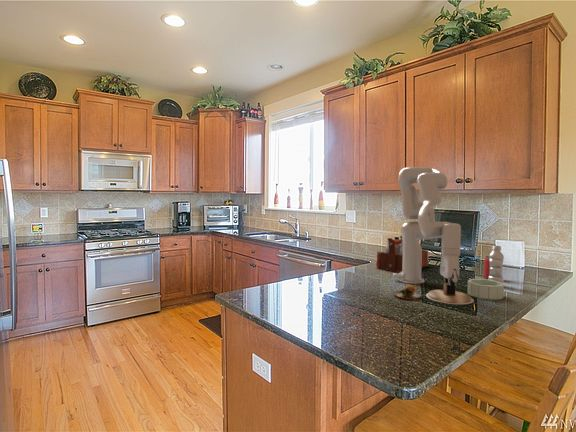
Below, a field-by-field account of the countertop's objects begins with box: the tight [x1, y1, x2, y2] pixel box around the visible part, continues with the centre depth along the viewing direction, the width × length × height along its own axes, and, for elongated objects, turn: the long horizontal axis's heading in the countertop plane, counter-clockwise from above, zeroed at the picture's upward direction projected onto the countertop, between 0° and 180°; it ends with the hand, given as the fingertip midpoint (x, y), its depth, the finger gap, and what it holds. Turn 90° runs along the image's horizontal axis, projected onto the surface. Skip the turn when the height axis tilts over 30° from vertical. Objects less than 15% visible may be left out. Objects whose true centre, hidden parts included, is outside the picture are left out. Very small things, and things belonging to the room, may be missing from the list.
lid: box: [428, 282, 472, 305], centre depth 151 cm, size 17×17×6 cm
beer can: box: [483, 255, 490, 280], centre depth 187 cm, size 7×7×12 cm
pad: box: [425, 292, 475, 305], centre depth 151 cm, size 19×19×1 cm
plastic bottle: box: [487, 245, 505, 284], centre depth 173 cm, size 6×7×20 cm
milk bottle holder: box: [375, 235, 429, 273], centre depth 217 cm, size 21×35×19 cm, turn 137°
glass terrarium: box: [393, 284, 422, 301], centre depth 152 cm, size 12×12×8 cm
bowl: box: [466, 278, 505, 300], centre depth 155 cm, size 14×14×6 cm
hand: (449, 292), depth 151 cm, fingers closed on lid, 3 cm apart
